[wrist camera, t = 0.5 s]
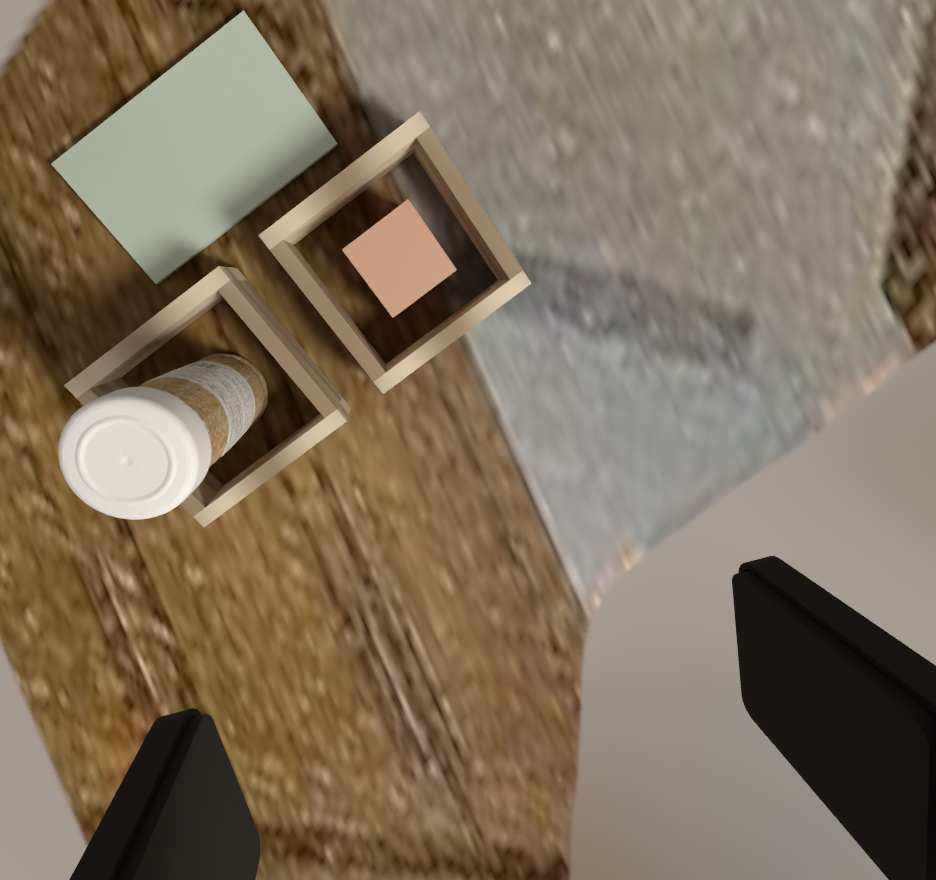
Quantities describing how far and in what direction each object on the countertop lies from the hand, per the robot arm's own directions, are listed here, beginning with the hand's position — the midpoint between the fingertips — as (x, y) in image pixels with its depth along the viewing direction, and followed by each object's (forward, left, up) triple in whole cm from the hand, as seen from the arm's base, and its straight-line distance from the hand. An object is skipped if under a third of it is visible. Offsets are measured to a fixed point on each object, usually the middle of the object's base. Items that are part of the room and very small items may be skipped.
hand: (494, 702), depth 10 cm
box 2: (-4, -7, -25) cm, 27 cm away
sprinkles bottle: (+8, -7, -26) cm, 28 cm away
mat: (+1, -17, -25) cm, 31 cm away
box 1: (+8, -7, -25) cm, 27 cm away
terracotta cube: (-4, -7, -25) cm, 27 cm away
